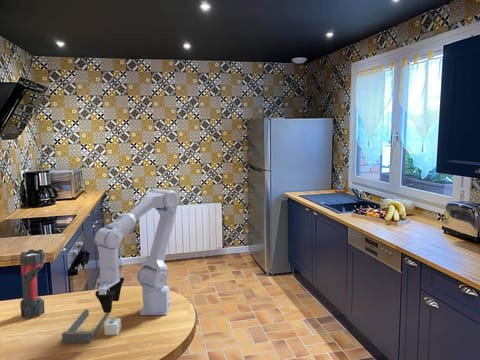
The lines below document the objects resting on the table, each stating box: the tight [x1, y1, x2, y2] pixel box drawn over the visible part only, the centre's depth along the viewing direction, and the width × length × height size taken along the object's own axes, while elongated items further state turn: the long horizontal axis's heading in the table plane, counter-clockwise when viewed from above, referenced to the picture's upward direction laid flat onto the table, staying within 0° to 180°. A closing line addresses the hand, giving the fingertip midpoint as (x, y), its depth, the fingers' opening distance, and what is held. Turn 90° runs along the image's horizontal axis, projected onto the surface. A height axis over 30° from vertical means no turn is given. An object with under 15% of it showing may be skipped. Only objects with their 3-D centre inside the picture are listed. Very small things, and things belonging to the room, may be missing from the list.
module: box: [103, 317, 122, 336], centre depth 121 cm, size 4×4×4 cm
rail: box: [61, 308, 110, 344], centre depth 123 cm, size 8×17×3 cm, turn 0°
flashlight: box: [19, 249, 46, 319], centre depth 131 cm, size 8×8×23 cm
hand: (111, 306), depth 120 cm, fingers open, 7 cm apart
